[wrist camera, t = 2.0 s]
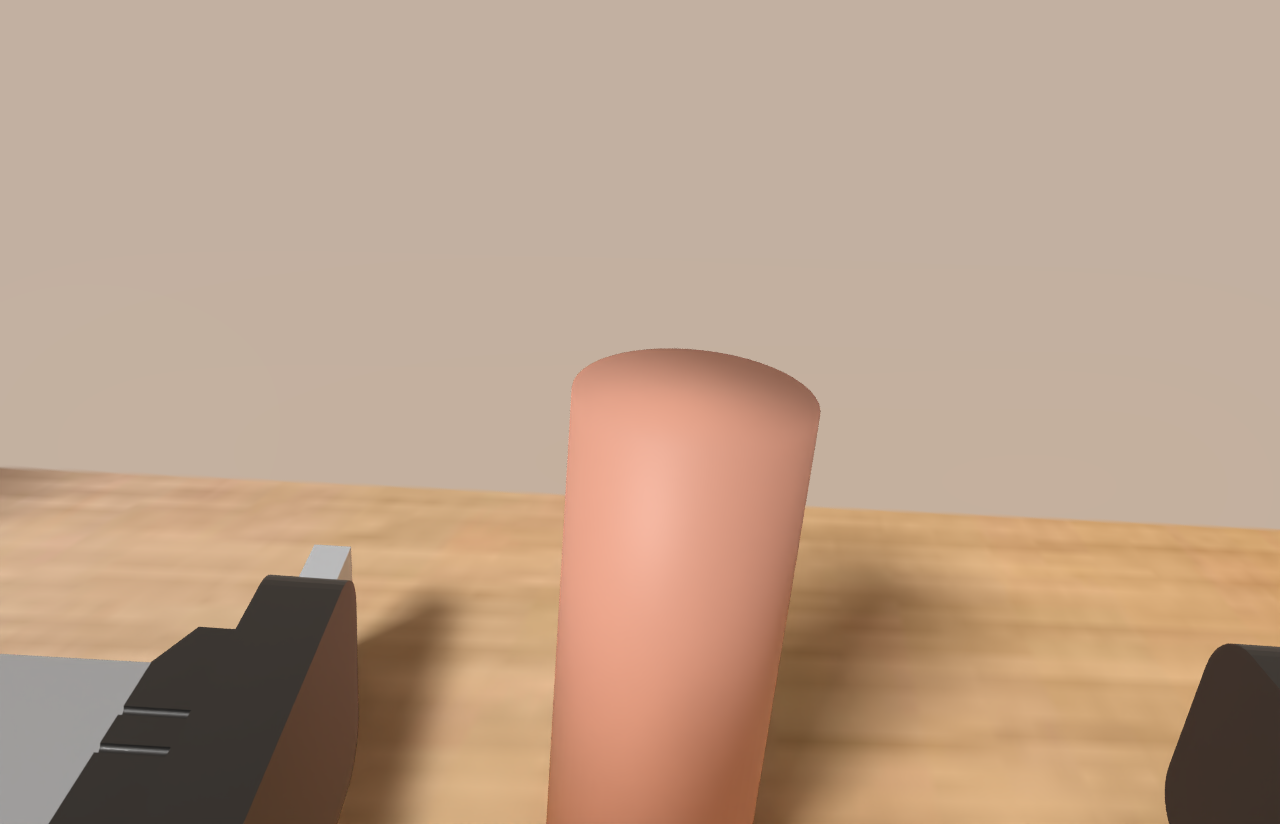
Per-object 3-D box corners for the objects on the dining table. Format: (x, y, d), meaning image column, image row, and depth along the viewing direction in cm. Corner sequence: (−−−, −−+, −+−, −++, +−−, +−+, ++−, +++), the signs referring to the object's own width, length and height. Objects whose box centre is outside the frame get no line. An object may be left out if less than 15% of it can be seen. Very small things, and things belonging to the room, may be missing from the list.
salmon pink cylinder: (738, 769, 30) (801, 356, 25) (758, 927, 25) (840, 461, 20) (552, 759, 29) (577, 341, 24) (538, 916, 25) (565, 442, 20)
